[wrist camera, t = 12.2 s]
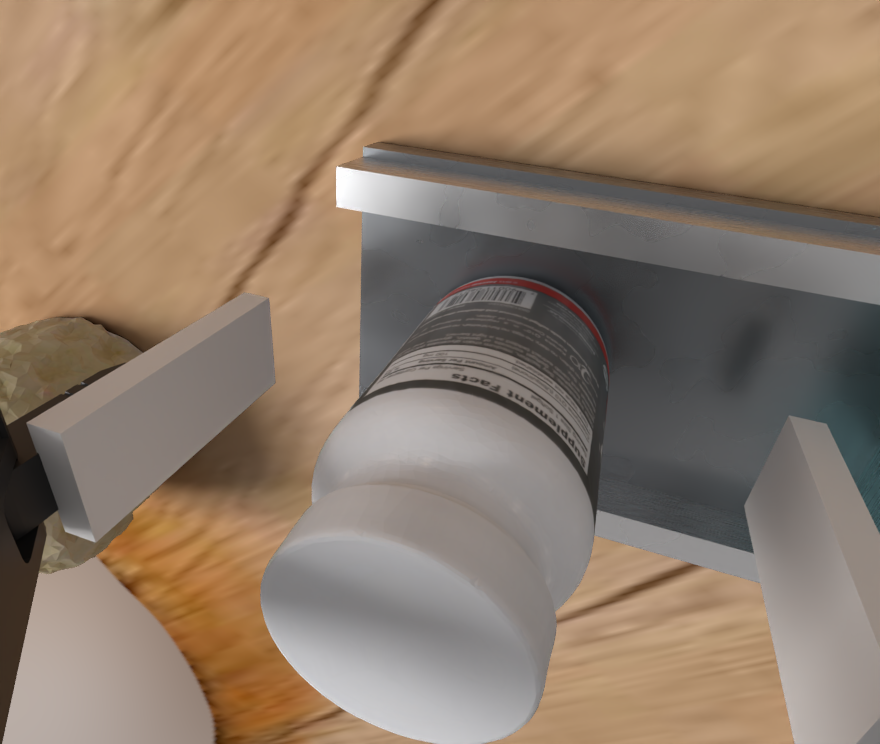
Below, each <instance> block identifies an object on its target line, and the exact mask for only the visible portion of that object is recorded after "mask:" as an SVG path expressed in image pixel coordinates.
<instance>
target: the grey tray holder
mask: <svg viewBox="0 0 880 744" xmlns="http://www.w3.org/2000/svg"><path fill="white" fill-rule="evenodd" d="M336 201H337V207H340V208H345V209H351V210H357V211H362V257H361V321H360V385H359V398H360V396H361V395H362V394H363V393H364V392H365V391H366V389H367V388H368V387H369V386H370V384H371V383H372V382H373V381H374V380H375V378H376V377H377V376H378V375H379V374H380V372H381V371H382V370H383V369H384V368H385V366H386V365H387V364H388V363H389V361H390V360H391V359H392V358H393V357H394V355H395V354H396V353H397V352H398V350H399V349H400V348H401V347H402V345H403V344H404V343H405V342H406V340H407V339H408V338H409V337H410V335H411V334H412V333H413V332H414V331H415V329H416V328H417V327H418V326H419V324H420V323H421V322H422V321H423V320H424V318H425V317H426V316H427V315H428V314H429V312H430V311H431V310H432V309H433V308H434V307H435V305H436V304H437V303H438V302H439V301H440V300H441V299H443V298H444V297H445V296H446V295H448V294H449V293H450V292H452V291H453V290H455V289H457V288H458V287H460V286H462V285H464V284H467V283H469V282H472V281H475V280H478V279H482V278H487V277H494V276H516V277H523V278H528V279H533V280H536V281H539V282H542V283H545V284H547V285H549V286H551V287H553V288H555V289H557V290H559V291H561V292H562V293H564V294H566V295H567V296H568V297H570V298H571V299H572V300H573V301H575V302H576V303H577V304H578V305H579V306H580V307H581V308H582V309H583V310H584V311H585V312H586V313H587V314H588V316H589V317H590V318H591V320H592V321H593V323H594V324H595V326H596V327H597V329H598V331H599V333H600V335H601V337H602V339H603V342H604V345H605V348H606V351H607V356H608V362H609V391H608V401H607V412H606V422H605V430H604V441H603V452H602V463H601V473H600V480H599V492H598V504H597V514H596V524H595V534H594V535H595V536H598V537H602V538H605V539H609V540H612V541H616V542H619V543H623V544H626V545H629V546H633V547H636V548H640V549H643V550H647V551H650V552H654V553H657V554H661V555H664V556H668V557H671V558H674V559H678V560H681V561H685V562H688V563H692V564H695V565H699V566H702V567H706V568H709V569H713V570H716V571H719V572H723V573H726V574H730V575H733V576H737V577H740V578H744V579H747V580H751V581H754V582H758V583H760V579H759V574H758V569H757V565H756V560H755V555H754V551H753V546H752V541H751V537H750V532H749V527H748V522H747V518H746V513H745V508H744V505H745V503H746V501H747V499H748V497H749V495H750V493H751V491H752V489H753V487H754V485H755V483H756V481H757V479H758V476H759V474H760V472H761V470H762V468H763V466H764V464H765V462H766V460H767V458H768V456H769V454H770V452H771V450H772V448H773V446H774V444H775V442H776V440H777V438H778V436H779V434H780V432H781V430H782V428H783V426H784V424H785V422H786V420H787V418H788V416H789V415H790V416H794V417H799V418H803V419H807V420H812V421H816V422H821V423H825V424H827V426H828V428H829V430H830V432H831V434H832V436H833V438H834V440H835V442H836V444H837V446H838V449H839V451H840V453H841V455H842V457H843V459H844V461H845V463H846V465H847V467H848V469H849V471H850V473H851V476H852V478H853V480H854V482H855V484H856V486H857V488H858V490H859V492H860V494H861V496H862V498H863V500H864V503H865V505H866V507H867V509H868V511H869V513H870V515H871V517H872V519H873V521H874V523H875V525H876V527H877V530H878V532H879V534H880V217H873V216H867V215H860V214H853V213H847V212H840V211H833V210H827V209H820V208H813V207H807V206H800V205H793V204H787V203H780V202H773V201H767V200H760V199H753V198H747V197H740V196H734V195H727V194H720V193H714V192H707V191H700V190H694V189H687V188H680V187H674V186H667V185H660V184H654V183H647V182H640V181H634V180H627V179H620V178H614V177H607V176H601V175H594V174H587V173H581V172H574V171H567V170H561V169H554V168H547V167H541V166H534V165H527V164H521V163H514V162H507V161H501V160H494V159H487V158H481V157H474V156H468V155H461V154H454V153H448V152H441V151H434V150H428V149H421V148H414V147H408V146H401V145H394V144H388V143H381V142H376V143H373V144H370V145H367V146H364V147H363V157H361V158H358V159H355V160H353V161H350V162H347V163H344V164H342V165H339V166H336Z"/></svg>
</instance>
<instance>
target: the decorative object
mask: <svg viewBox="0 0 880 744" xmlns="http://www.w3.org/2000/svg"><path fill="white" fill-rule="evenodd" d="M141 354H142V352H141V351H140V350H139V349H137V348H136V347H135V346H134V345H132V344H131V343H130V342H129V341H128V340H126V339H124V338H122V337H120V336H118V335H115V334H113V333H110V332H108V331H106V330H105V329H104V327H103V326H102V325H94V324H92V323H91V322H89V321H88V320H85V319H84V318H82V317H79V318H63V317H57V318H50V319H45V320H41V321H35V322H33V323H30V324H26V325H21V326H17V327H15V328H13V329H10V330H7V331H4V332H2V333H0V409H1V411H2V414H3V417H4V419H5V422H6V424H7V425H8V424H10V423H12V422H13V421H15V420H17V419H18V418H20V417H22V416H24V415H25V414H27V413H29V412H30V411H32V410H34V409H36V408H37V407H39V406H41V405H42V404H44V403H46V402H48V401H49V400H51V399H53V398H54V397H56V396H58V395H60V394H63V395H64V394H65V391H66V390H68V389H70V388H72V387H73V386H75V385H77V384H78V385H80V384H81V382H82V381H84V380H85V379H87V378H89V377H90V376H92V375H94V374H96V373H97V372H99V371H101V370H104V369H107V368H110V367H113V366H116V365H119V364H122V363H127V362H129V361H131V360H132V359H134V358H136V357H137V356H139V355H141ZM158 488H159V487H158ZM158 488H157V489H158ZM157 489H156V490H157ZM156 490H154V491H153V492H155V491H156ZM153 492H152V493H153ZM152 493H151V494H152ZM151 494H150V495H151ZM150 495H149V496H148V497H147V498H149V497H150ZM147 498H145V499H144V500H143V501H142V502H141V503H140V504H139V505H138V506H136V507H135V508H134V509H133V510H132V511H131V512H130V513H129V514H127V515H126V516H125V517H124V518H123V519H122V520H121V521H120V522H119V523H117V524H116V525H115V526H114V527H113V528H112V529H111V530H110V531H108V532H107V533H106V534H105V535H104V536H103V537H102V538H101V539H99V540H98V541H97V542H96V543H95V542H93V541H90V540H87V539H84V538H81V537H79V536H76V535H73V534H70V533H68V532H65V530H64V527H63V524H62V521H61V518H60V516H59V513H58V510H57V511H56V512H55V513H53V514H52V515H51V516H50V517H48V518H47V519H46V520H44V524H45V526H46V533H47V536H46V541H45V546H44V550H43V555H42V560H41V564H40V569H39V573H45V574H51V573H53V572H56V571H58V570H63V569H69V568H74V567H77V566H79V565H81V564H83V563H85V562H86V561H87V560H89V559H90V558H93V557H95V556H96V555H97V554H99V553H100V552H102V551H103V550H104V549H105V548H107V546H108V545H109V544H110V542H111V541H112V540H113V539H114V538H116V537H117V536H118V535H120V534H121V533H122V532H123V531H124V530H125V529H126V528H127V527H128V525H129V524H130V522H131V521H132V520H133V514H132V513H133V511H134V510H135V509H136V508H138V507H139V506H140V505H141V504H142V503H143V502H144V501H145V500H146V499H147Z"/></svg>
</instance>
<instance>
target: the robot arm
mask: <svg viewBox="0 0 880 744" xmlns="http://www.w3.org/2000/svg"><path fill="white" fill-rule="evenodd" d="M274 384H275V370H274V357H273V343H272V330H271V317H270V303H269V298H267V297H263V296H258V295H254V294H250V293H245V292H244V293H243V294H241V295H239V296H238V297H236V298H234V299H233V300H231V301H229V302H228V303H226V304H224V305H223V306H221V307H219V308H218V309H216V310H214V311H213V312H211V313H209V314H208V315H206V316H204V317H203V318H201V319H199V320H198V321H196V322H194V323H193V324H191V325H189V326H187V327H186V328H184V329H182V330H181V331H179V332H177V333H176V334H174V335H172V336H171V337H169V338H167V339H166V340H164V341H162V342H161V343H159V344H157V345H156V346H154V347H152V348H151V349H149V350H147V351H146V352H144V353H142V354H141V355H139V356H137V357H136V358H134V359H132V360H131V361H129V362H127V363H122V364H119V365H116V366H113V367H110V368H107V369H104V370H101V371H99V372H97V373H96V374H94V375H92V376H90V377H89V378H87V379H85V380H84V381H82V382H81V384H80V385H78V384H77V385H75V386H73V387H72V388H70V389H68V390H66V391H65V394H64V395H63V394H60V395H58V396H56V397H54V398H53V399H51V400H49V401H48V402H46V403H44V404H42V405H41V406H39V407H37V408H36V409H34V410H32V411H30V412H29V413H27V414H25V415H24V416H22V417H20V418H18V419H17V420H15V421H13V422H12V423H10V424H8V425H7V424H6V422H5V419H4V417H3V414H2V411H1V409H0V744H2V741H3V736H4V731H5V727H6V722H7V717H8V713H9V708H10V703H11V698H12V694H13V690H14V685H15V680H16V675H17V671H18V666H19V662H20V657H21V652H22V648H23V643H24V639H25V634H26V629H27V625H28V620H29V615H30V610H31V606H32V601H33V597H34V592H35V587H36V583H37V578H38V574H39V569H40V564H41V560H42V555H43V550H44V546H45V541H46V536H47V533H46V526H45V524H44V520H46V519H47V518H48V517H50V516H51V515H52V514H53V513H55V512H56V511H57V510H58V513H59V516H60V518H61V521H62V524H63V527H64V530H65V532H68V533H70V534H73V535H76V536H79V537H81V538H84V539H87V540H90V541H93V542H95V543H96V542H97V541H98V540H99V539H101V538H102V537H103V536H104V535H105V534H106V533H107V532H108V531H110V530H111V529H112V528H113V527H114V526H115V525H116V524H117V523H119V522H120V521H121V520H122V519H123V518H124V517H125V516H126V515H127V514H129V513H130V512H131V511H132V510H133V509H134V508H135V507H136V506H138V505H139V504H140V503H141V502H142V501H143V500H144V499H145V498H147V497H148V496H149V495H150V494H151V493H152V492H153V491H154V490H156V489H157V488H158V487H159V486H160V485H161V484H162V483H163V482H165V481H166V480H167V479H168V478H169V477H170V476H171V475H172V474H174V473H175V472H176V471H177V470H178V469H179V468H180V467H181V466H183V465H184V464H185V463H186V462H187V461H188V460H189V459H190V458H192V457H193V456H194V455H195V454H196V453H197V452H198V451H199V450H201V449H202V448H203V447H204V446H205V445H206V444H207V443H208V442H210V441H211V440H212V439H213V438H214V437H215V436H216V435H217V434H219V433H220V432H221V431H222V430H223V429H224V428H225V427H226V426H228V425H229V424H230V423H231V422H232V421H233V420H234V419H235V418H237V417H238V416H239V415H240V414H241V413H242V412H243V411H244V410H246V409H247V408H248V407H249V406H250V405H251V404H252V403H253V402H255V401H256V400H257V399H258V398H259V397H260V396H261V395H262V394H263V393H265V392H266V391H267V390H268V389H269V388H270V387H271V386H272V385H274ZM744 508H745V513H746V518H747V522H748V527H749V532H750V537H751V541H752V546H753V551H754V555H755V560H756V565H757V569H758V574H759V579H760V584H761V588H762V593H763V598H764V602H765V607H766V612H767V616H768V621H769V626H770V631H771V635H772V640H773V645H774V649H775V654H776V659H777V664H778V668H779V673H780V678H781V682H782V687H783V692H784V696H785V701H786V706H787V711H788V715H789V720H790V725H791V729H792V734H793V739H794V743H795V744H880V534H879V532H878V530H877V527H876V525H875V523H874V521H873V519H872V517H871V515H870V513H869V511H868V509H867V507H866V505H865V503H864V500H863V498H862V496H861V494H860V492H859V490H858V488H857V486H856V484H855V482H854V480H853V478H852V476H851V473H850V471H849V469H848V467H847V465H846V463H845V461H844V459H843V457H842V455H841V453H840V451H839V449H838V446H837V444H836V442H835V440H834V438H833V436H832V434H831V432H830V430H829V428H828V426H827V424H825V423H821V422H816V421H812V420H807V419H803V418H799V417H794V416H790V415H789V416H788V418H787V420H786V422H785V424H784V426H783V428H782V430H781V432H780V434H779V436H778V438H777V440H776V442H775V444H774V446H773V448H772V450H771V452H770V454H769V456H768V458H767V460H766V462H765V464H764V466H763V468H762V470H761V472H760V474H759V476H758V479H757V481H756V483H755V485H754V487H753V489H752V491H751V493H750V495H749V497H748V499H747V501H746V503H745V505H744Z"/></svg>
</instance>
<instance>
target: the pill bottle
mask: <svg viewBox="0 0 880 744" xmlns="http://www.w3.org/2000/svg"><path fill="white" fill-rule="evenodd" d="M608 391H609V362H608V356H607V351H606V348H605V345H604V342H603V339H602V337H601V335H600V333H599V331H598V329H597V327H596V326H595V324H594V323H593V321H592V320H591V318H590V317H589V316H588V314H587V313H586V312H585V311H584V310H583V309H582V308H581V307H580V306H579V305H578V304H577V303H576V302H575V301H573V300H572V299H571V298H570V297H568V296H567V295H566V294H564V293H562V292H561V291H559V290H557V289H555V288H553V287H551V286H549V285H547V284H545V283H542V282H539V281H536V280H533V279H528V278H523V277H516V276H494V277H487V278H482V279H478V280H475V281H472V282H469V283H467V284H464V285H462V286H460V287H458V288H457V289H455V290H453V291H452V292H450V293H449V294H448V295H446V296H445V297H444V298H443V299H441V300H440V301H439V302H438V303H437V304H436V305H435V307H434V308H433V309H432V310H431V311H430V312H429V314H428V315H427V316H426V317H425V318H424V320H423V321H422V322H421V323H420V324H419V326H418V327H417V328H416V329H415V331H414V332H413V333H412V334H411V335H410V337H409V338H408V339H407V340H406V342H405V343H404V344H403V345H402V347H401V348H400V349H399V350H398V352H397V353H396V354H395V355H394V357H393V358H392V359H391V360H390V361H389V363H388V364H387V365H386V366H385V368H384V369H383V370H382V371H381V372H380V374H379V375H378V376H377V377H376V378H375V380H374V381H373V382H372V383H371V384H370V386H369V387H368V388H367V389H366V391H365V392H364V393H363V394H362V395H361V396H360V398H359V399H358V400H357V401H356V402H355V403H354V405H353V406H352V407H351V408H350V410H349V411H348V412H347V413H346V414H345V416H344V417H343V418H342V419H341V421H340V422H339V423H338V425H337V426H336V427H335V429H334V430H333V431H332V433H331V434H330V435H329V437H328V439H327V440H326V442H325V444H324V446H323V448H322V449H321V451H320V454H319V456H318V459H317V462H316V465H315V469H314V474H313V481H312V505H311V506H310V507H309V508H308V509H307V510H306V511H305V512H304V514H303V515H302V516H301V518H300V519H299V520H298V522H297V523H296V524H295V526H294V527H293V529H292V530H291V531H290V533H289V534H288V536H287V537H286V538H285V540H284V541H283V543H282V544H281V545H280V547H279V548H278V550H277V551H276V552H275V554H274V555H273V557H272V558H271V560H270V561H269V563H268V565H267V567H266V570H265V572H264V575H263V579H262V583H261V594H260V597H261V607H262V611H263V615H264V619H265V622H266V625H267V628H268V630H269V632H270V634H271V636H272V638H273V640H274V642H275V643H276V645H277V647H278V648H279V650H280V651H281V653H282V654H283V655H284V657H285V658H286V659H287V661H288V662H289V663H290V664H291V665H292V666H293V668H294V669H295V670H296V671H297V672H298V673H299V674H300V675H301V676H302V677H303V678H304V679H305V680H306V681H307V682H308V683H309V684H310V685H311V686H313V687H314V688H315V689H316V690H317V691H318V692H320V693H321V694H322V695H323V696H325V697H326V698H328V699H329V700H331V701H332V702H333V703H335V704H336V705H338V706H339V707H341V708H342V709H344V710H345V711H347V712H349V713H351V714H352V715H354V716H356V717H358V718H360V719H363V720H364V721H366V722H368V723H370V724H372V725H375V726H377V727H380V728H382V729H385V730H387V731H390V732H392V733H395V734H398V735H401V736H405V737H408V738H412V739H415V740H421V741H425V742H430V743H437V744H483V743H487V742H492V741H496V740H500V739H503V738H505V737H507V736H509V735H511V734H513V733H515V732H516V731H518V730H519V729H520V728H521V727H523V726H524V725H525V724H526V723H527V722H529V720H530V719H531V718H532V716H533V715H534V713H535V712H536V710H537V708H538V705H539V703H540V700H541V698H542V695H543V691H544V687H545V681H546V675H547V670H548V665H549V661H550V657H551V652H552V649H553V645H554V640H555V635H556V614H555V611H556V610H558V609H559V608H560V607H561V606H562V605H563V604H564V603H565V602H566V601H567V600H568V599H569V597H570V596H571V595H572V594H573V592H574V591H575V590H576V588H577V587H578V585H579V584H580V582H581V580H582V578H583V575H584V573H585V571H586V569H587V566H588V563H589V560H590V556H591V552H592V546H593V541H594V534H595V524H596V514H597V504H598V492H599V480H600V473H601V463H602V452H603V441H604V430H605V422H606V412H607V401H608Z"/></svg>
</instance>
